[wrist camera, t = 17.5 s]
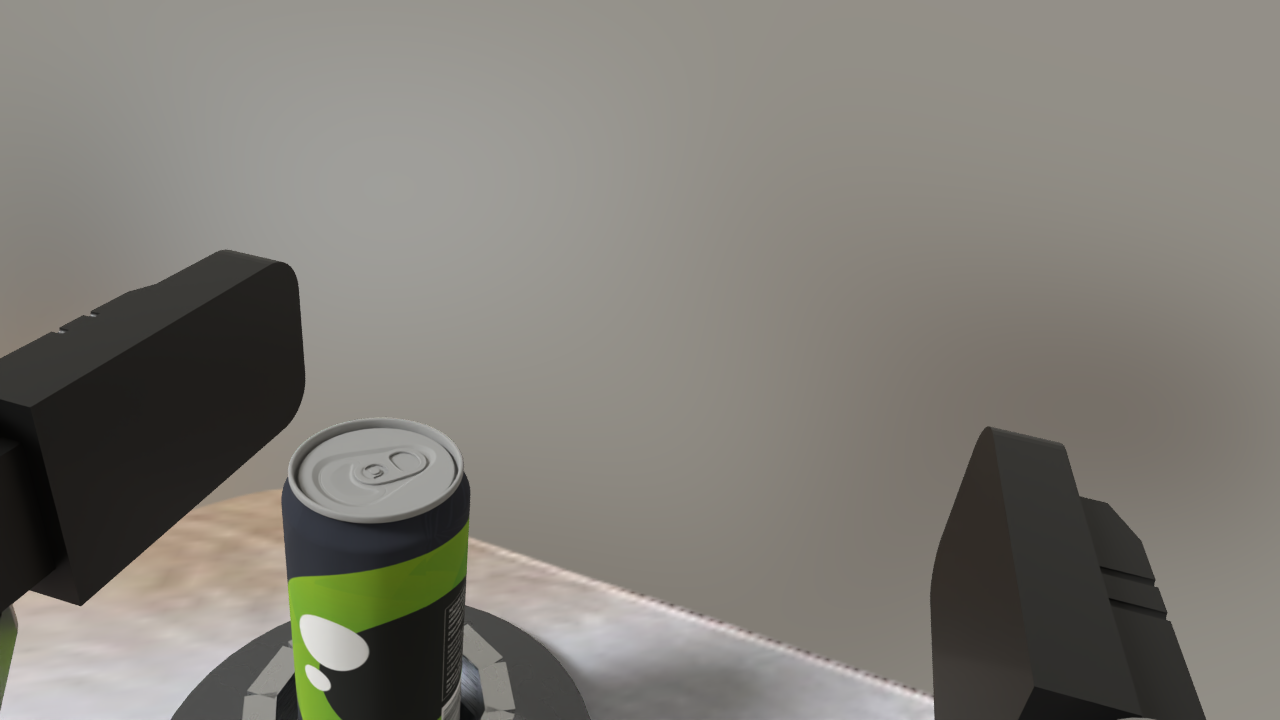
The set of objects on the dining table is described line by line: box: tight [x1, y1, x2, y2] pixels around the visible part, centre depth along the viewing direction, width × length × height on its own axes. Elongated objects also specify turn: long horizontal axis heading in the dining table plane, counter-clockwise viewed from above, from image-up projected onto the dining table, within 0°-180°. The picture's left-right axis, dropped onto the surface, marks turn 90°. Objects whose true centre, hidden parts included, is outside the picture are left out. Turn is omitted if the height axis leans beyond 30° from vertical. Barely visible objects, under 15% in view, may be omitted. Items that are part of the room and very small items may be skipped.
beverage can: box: [282, 417, 470, 720], centre depth 34 cm, size 6×6×15 cm
